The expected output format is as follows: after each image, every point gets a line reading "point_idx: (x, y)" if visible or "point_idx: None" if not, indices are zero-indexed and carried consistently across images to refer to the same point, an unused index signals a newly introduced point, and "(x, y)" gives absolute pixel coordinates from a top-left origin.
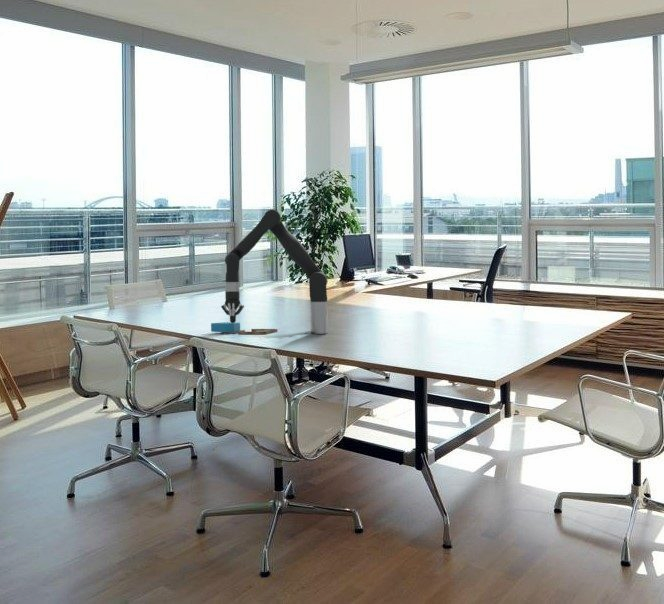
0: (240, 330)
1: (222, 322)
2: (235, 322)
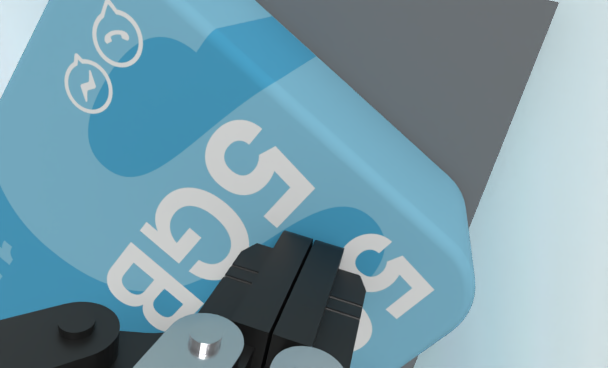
0: (461, 72)
1: (46, 100)
2: (350, 188)
